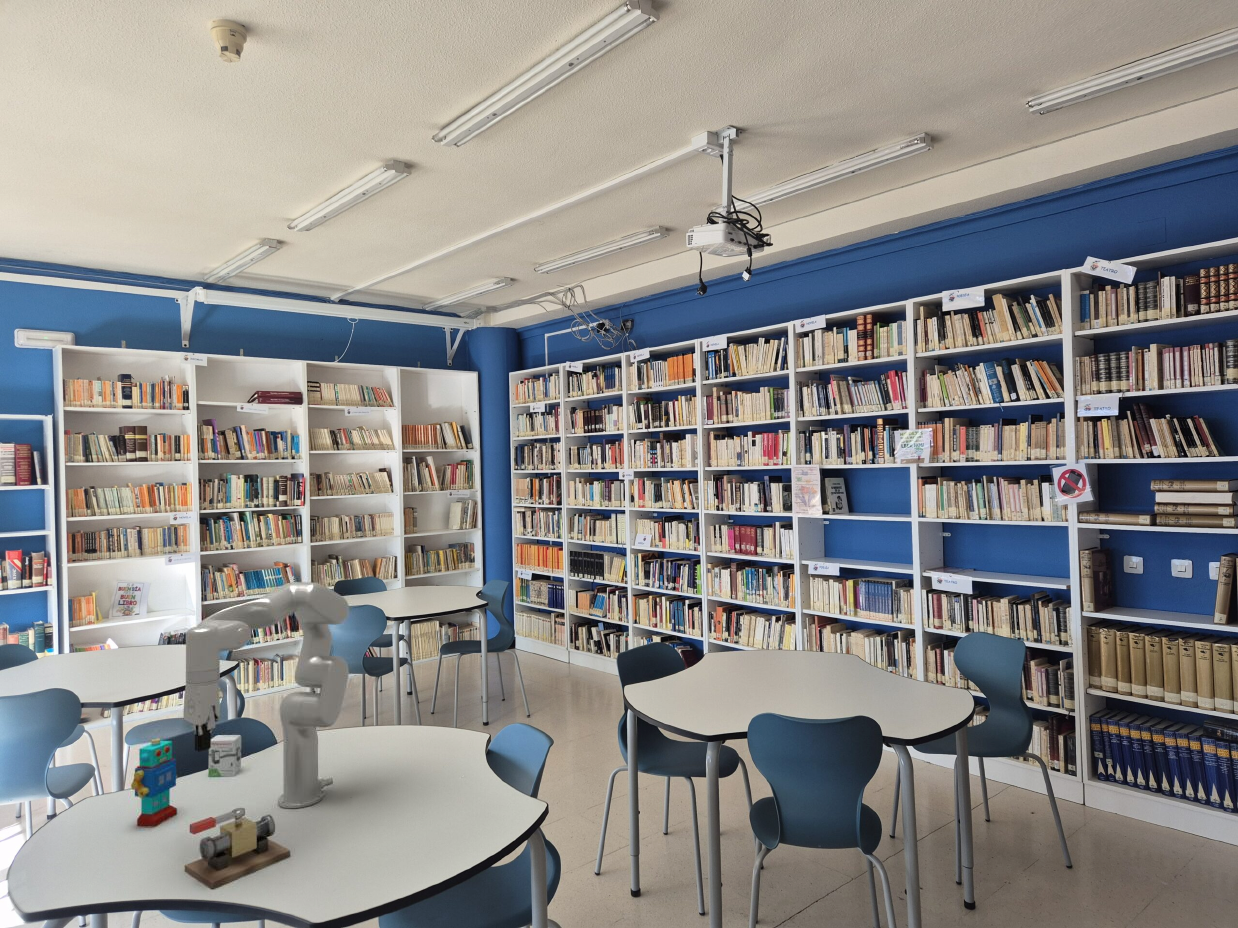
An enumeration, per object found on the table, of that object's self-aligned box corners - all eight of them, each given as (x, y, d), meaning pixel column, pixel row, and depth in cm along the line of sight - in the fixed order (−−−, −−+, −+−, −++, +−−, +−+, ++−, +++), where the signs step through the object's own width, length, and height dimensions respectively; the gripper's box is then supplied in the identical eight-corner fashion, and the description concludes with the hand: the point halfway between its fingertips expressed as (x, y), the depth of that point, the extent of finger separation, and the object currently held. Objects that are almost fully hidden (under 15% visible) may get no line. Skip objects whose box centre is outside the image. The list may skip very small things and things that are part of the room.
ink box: (207, 777, 243) (207, 740, 243) (214, 771, 248) (215, 735, 248) (234, 776, 243) (234, 739, 243) (241, 770, 248) (241, 734, 248)
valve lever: (241, 812, 188) (241, 805, 188) (247, 815, 187) (247, 808, 187) (188, 831, 178) (188, 823, 178) (194, 834, 177) (194, 827, 177)
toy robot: (148, 829, 205) (149, 737, 206) (130, 828, 206) (130, 735, 207) (181, 811, 216) (181, 724, 217) (163, 810, 218) (163, 722, 218)
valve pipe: (263, 841, 194) (263, 802, 195) (276, 847, 191) (276, 807, 191) (198, 867, 181) (198, 825, 182) (210, 874, 178) (210, 831, 178)
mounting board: (261, 840, 198) (261, 835, 198) (290, 856, 189) (290, 850, 189) (184, 871, 183) (184, 864, 183) (212, 889, 174) (212, 882, 174)
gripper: (173, 674, 192) (173, 747, 191) (201, 683, 183) (201, 760, 182) (204, 668, 198) (204, 739, 197) (232, 676, 189) (232, 751, 188)
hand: (202, 749), depth 190 cm, fingers closed
